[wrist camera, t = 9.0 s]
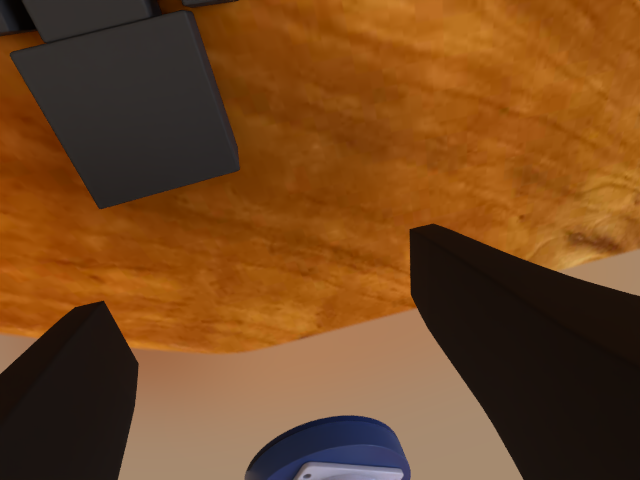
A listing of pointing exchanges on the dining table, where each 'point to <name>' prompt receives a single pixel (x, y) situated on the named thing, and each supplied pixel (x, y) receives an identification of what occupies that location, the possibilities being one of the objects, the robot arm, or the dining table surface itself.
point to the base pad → (12, 18)
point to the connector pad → (128, 96)
